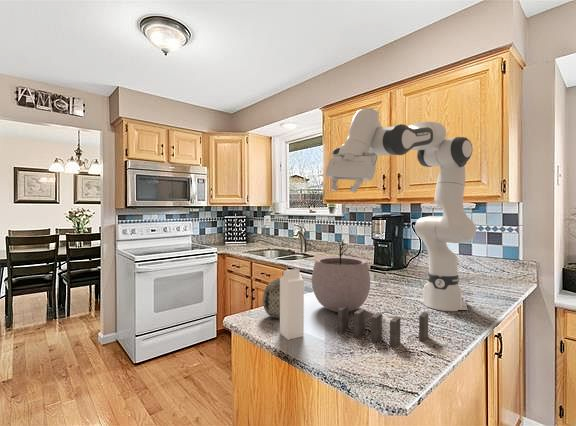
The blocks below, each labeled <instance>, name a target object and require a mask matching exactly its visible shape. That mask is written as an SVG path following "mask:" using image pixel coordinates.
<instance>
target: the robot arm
mask: <svg viewBox="0 0 576 426" xmlns="http://www.w3.org/2000/svg"><path fill="white" fill-rule="evenodd" d="M411 150H413V151H417V156H416V158H417V161H418V163H419V164H420V165H421V166H422V167H426V168H431V167H439V172H438V175H437V179H436V183H435V184H436V186H435V191H434V192H435V193H434V197H433V201H434V203H435V204H436V206H437V207H439V208H440V209H442V215H441V216H440V215H428V216H424V217H420V218H418V219H417V220H416V222H415V223H414V224H415V225H414V230H415V234H416V236H417V237H418V238H419V239H420V240H421V241H422V242H423V244H424V246H425V248H426V251H427V255H428V272H427V282H426V283H425V284H423V285H424V286H423V294H422V295H423V297H422V298H421V299H419V303H420V304H423V305H424V306H426V307H428V308H429V309H433V310H437V311H442V312H443V311H444V312H459V311H458V310H467V311H468V307H467V306H468V305H467V303H466V302H467V301H466V299H464V297H462V296H463V293H462V292H463V290H462V288H461V287H460V283H459V282H460V281H459V280H460V278H459V275H458V261H459V259H458V256H457V255H456V253H455V252H453V251H452V250H451V249H450V248H449V247H448V244H447V243H452V244H464V243H470V242H471V241H472V240H474V239H475V237H476V233H477V227H476V224H475V223H474V221H473V220H472V219H471V218H470V217H469V216H468V215H467V214H466V211H465V208H464V193H465V187H466V167H465V165H466V164H467V162H468V161H469V160H470V159H471V157H472V154H473V145H472V142H471V140H470V139H468V137H464V136H456V137H450V138H447V128H446V127H445V125H443V124H442V123H440V122H436V121H419V122H415V123H412V124H410V125H406V124H403V123H402V124H396V125H392V126H385V127H383V125H381V122H380V120H379V112H378V110H376V109H373V108H362V109H358V110H357V111H356V112H355V114H354V116H353V117H352V120H351V123H350V126H349V129H348V135H347V138H346V139H345V141H344V144H342V145H340V146H339V147H337V148H335V149H333V150H332V151H331V157H330V159H329V160H328V163H327V165H326V169H325V175H326V177H328V178H330V179H331V187H330V190H331V191H333V192H336V191H338V189H339V186H338V185H337V182H339V180H347V181H354V184H353V185H351V186H350V188H349V191H350V192H351V193H354V194H355V193H357V192H358V189H359V187H360V186H362V185H363V182H365V181H366V182H367V181H369V182H370V181H372V180H373V179H374V177H375V173H376V167H377V161H378V156H403V155H406V154H407V153H408V152H410V151H411Z"/></svg>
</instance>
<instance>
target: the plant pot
mask: <svg viewBox="0 0 576 426" xmlns="http://www.w3.org/2000/svg"><path fill="white" fill-rule="evenodd" d="M341 240H342V242H340V241H339V240H338V239H337V237H336V241H337V242H338V244H339V256H337V255H335V256H323V257H317V258H316V259H315V261H314V265H313V269H312V274H311V286H312V291H313V293H314V296H315V298H316V300H317V301H318V302H319V304H320V305H321V306H323V307H324V308H326V309H327V310H329V311H332V312H336V313H338V309H339V308H341V307H343V306H344V305H345V306H349V312H353V311H355V310H357V309H358V308H360V307H362V305H363V304H364V303H365V302H366V300H367V298H368V296H369V294H370V288H371V276H370V271H369V265H368V262H367V260H366V259H364V258H359V257H352V256H344V255H343V254H344V252H346V251H347V249H348V248H345V249H344V246H345V245H346V243H345V242H344V239H341ZM343 249H344V250H343ZM342 250H343V251H342Z"/></svg>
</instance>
